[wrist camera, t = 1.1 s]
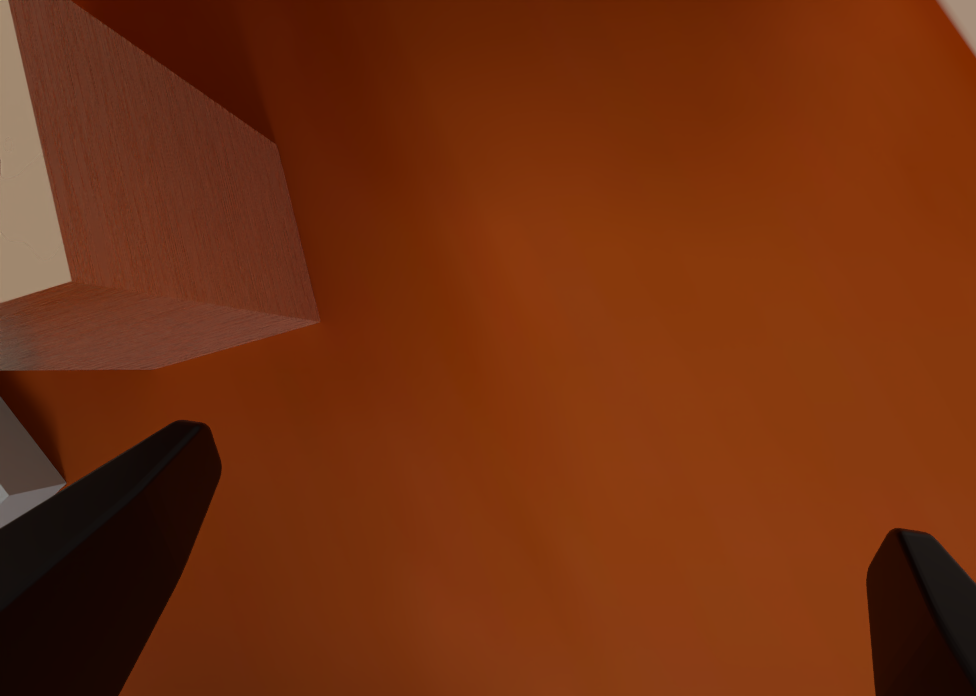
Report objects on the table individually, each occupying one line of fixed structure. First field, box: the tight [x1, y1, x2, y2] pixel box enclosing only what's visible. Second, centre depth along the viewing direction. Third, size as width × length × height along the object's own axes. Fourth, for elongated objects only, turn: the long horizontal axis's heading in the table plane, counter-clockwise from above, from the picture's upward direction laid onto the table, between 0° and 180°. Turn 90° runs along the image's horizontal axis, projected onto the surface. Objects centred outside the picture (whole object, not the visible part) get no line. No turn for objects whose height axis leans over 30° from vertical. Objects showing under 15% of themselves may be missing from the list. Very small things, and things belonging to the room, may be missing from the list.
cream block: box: [0, 0, 321, 370], centre depth 20 cm, size 6×6×12 cm
